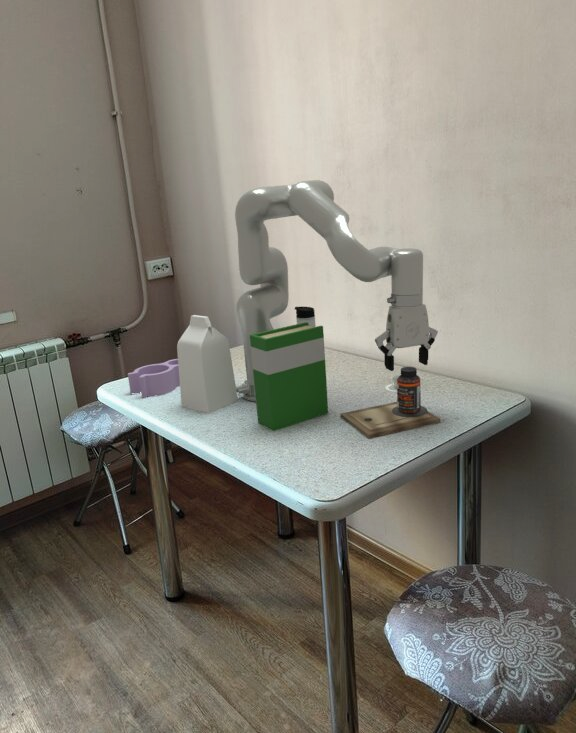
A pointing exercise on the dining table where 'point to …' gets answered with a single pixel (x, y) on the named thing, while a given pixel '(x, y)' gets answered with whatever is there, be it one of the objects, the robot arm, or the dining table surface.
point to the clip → (155, 378)
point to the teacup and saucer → (393, 383)
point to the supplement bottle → (408, 391)
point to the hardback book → (289, 375)
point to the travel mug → (305, 315)
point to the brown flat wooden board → (387, 419)
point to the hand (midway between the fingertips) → (406, 366)
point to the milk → (205, 367)
